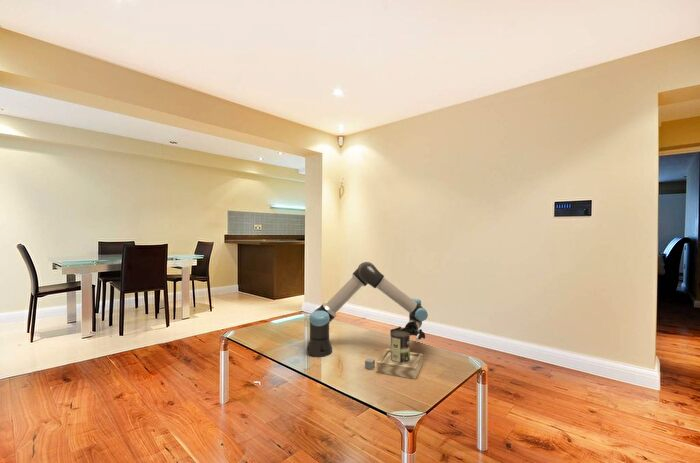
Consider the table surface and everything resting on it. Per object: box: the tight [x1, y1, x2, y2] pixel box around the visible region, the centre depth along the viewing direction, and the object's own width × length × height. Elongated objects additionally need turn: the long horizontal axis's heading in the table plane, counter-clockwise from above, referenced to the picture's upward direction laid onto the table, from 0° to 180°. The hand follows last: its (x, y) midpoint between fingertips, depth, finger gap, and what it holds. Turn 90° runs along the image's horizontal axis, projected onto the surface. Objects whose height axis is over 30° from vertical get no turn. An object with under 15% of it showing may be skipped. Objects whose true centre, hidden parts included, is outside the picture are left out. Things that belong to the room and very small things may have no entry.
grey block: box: [364, 357, 376, 370], centre depth 167 cm, size 4×4×4 cm
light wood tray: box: [376, 348, 423, 380], centre depth 167 cm, size 20×20×5 cm
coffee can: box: [390, 331, 411, 364], centre depth 167 cm, size 10×10×14 cm
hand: (404, 338), depth 175 cm, fingers open, 13 cm apart
